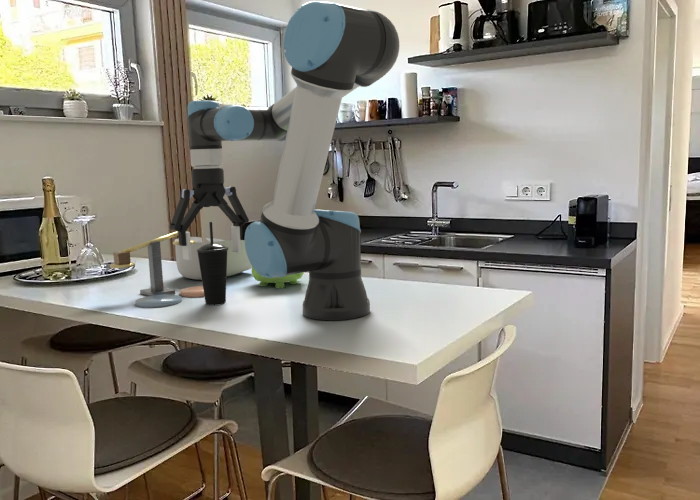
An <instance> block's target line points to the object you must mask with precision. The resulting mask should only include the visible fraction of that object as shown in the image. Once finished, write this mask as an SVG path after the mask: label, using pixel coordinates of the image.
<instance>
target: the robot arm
mask: <svg viewBox="0 0 700 500" xmlns="http://www.w3.org/2000/svg"><path fill="white" fill-rule="evenodd" d="M282 46H283V49H284V50H285V52H284V57H285V59H286V62H287V63H288V65H290V66H291V71H290V76H291V77H292V79H293V80H294V82H295V84H296V86H295V87H294V88H293V89H292V90H290V91H288V92H287V94H285V95H283V96H282V97H281V98H280V99H278V100H277V101H276V102H275V103H273V104H272V105H270V106H269V107H247V106H244V105H239V104H238V105H237V104H235V105H232V104H227V105H225V106H220V103H219V102H218V101H216V100H193V101H190V102H188V104H187V117H186V119H187V129H188V130H187V131H188V140H189V155H190V157H189V158H190V166H191V167H193V169H191V171H190V173H191V183H192V190H191V189H190V190H189V189H188V188H187V189H186V188H183V189H181V190H180V191H179V195H180V196H179V201H178V203H177V206H176V208H175V212H174V215H173V216H172V220H171V223H170V225H169V229H170V230H172V231H174V232H176V231H177V232H178V236H177V237H178V238H179V245H180V246H182V249H183V259H186V260H192V256H191V241H190V237H191V232H190V231H188V229H189V228H190V226H191V224H192V223H193V222H194V220H195V218H196V217H197V216H198V214H199V212H200V211H201V210H202V209H203V208H210V207H218V208H219V209H220V210H221V211H222V212H223V214H224V215H225V216H226V217H227V218H228V219H229V220H230V222H231V223H232V224H233V225H230V230H231V231H230V232H231V233H230V234H231V240H232V252H236V253H241V245H240V240H243V227H244V226H245V224H246V223H249V221H250V220H249V217H248V215H247V213H246V211H245V209H244V207H243V206H242V203H241V201H240V199H239V197H238V195H237V189H236V186H227V187H225V185H224V182H225V175H224V173H225V172H224V171H225V170H224V169H223V167H222V166H224V156H223V142H233V141H234V142H235V141H236V142H238V141H239V142H242V141H244V142H247V141H267V142H268V141H273V142H274V141H276V142H284V144H283V147H282V152H281V153H282V154H281V158H280V162H279V167H278V171H277V176H276V180H275V181H276V182H275V186H274V190H273V194H272V195H273V196H272V200H271V201H269V202H268V203H265V205H263V207H262V212H261V214H260V215H261V216H260V219H259V221H257V220H255V221H253V222H251V223H250V224H249V225H248V226H247V227H246V229H245V232H244V240H245V249H246V253H247V256H248V259H249V261H250V263H251V265H252V267H253V268H254V269H255V271H256V272H257V273H258V274H260V275H261V276H263V277H266V278H273V277H284V276H287V275H292V274H298V273H303V272H304V273H307V272H308V275H309V278H308V283H307V287H306V292H305V294H304V296H305V297H304V300H303V301H302V315H303V316H304V317H306V318H309V319H313V320H320V321H345V320H353V319H358V318H361V317H365V316H367V315H368V314H369V313H371V312H370V311H371V303H370V302H371V301H370V299H369V297H368V295H367V290H366V287H365V285H364V282H363V278H362V257H361V256H362V255H361V254H362V252H361V251H362V248H361V247H362V245H361V234H362V229H361V227H360V226H361V225H360V217H359V216H358V214H357V213H355V212H353V211H343V210H330V209H329V210H327V209H326V210H325V209H315V208H316V205H317V200H318V196H319V194H320V193H319V192H320V188H321V183H322V180H323V175H324V172H325V169H326V165H327V164H326V163H327V159H328V157H329V156H328V155H329V151H330V148H331V144H332V139H333V137H334V132H335V128H336V124H337V120H338V116H339V111H340V107H341V103H342V99H343V98H344V97H345V96H347V95H349V94H350V93H352V92H353V91H354V90H357V88H359V87H361V88H367V87H370V86H371V85H373V84H374V83H376V82H378V81H379V80H381V79H382V78H383V77H385V76H386V74H388V73H389V72H390V71H391V69H393V67H394V65H395V63H396V62H397V59H398V56H399V52H400V37H399V33H398V30H397V29H396V27H395V25H394V23H393V22H392V21H391V20H390V19H389V18H388V17H387V16H386V15H384V14H383V13H381V12H379V11H376V10H372V9H364V8H360V7H355V6H349V5H344V4H340V3H337V2H331V1H315V0H313V1H308V2H306V3H304V4H302V5H301V6H300V8H297V9H296V10H295V11H294V13H293V14H292V15H291V17H290V19H289V21H288V22H287V24H286V28H285V31H284V35H283V45H282ZM225 196H226V197H227V198H228V200H229V202H227V201H226V199H225V198H224V197H225ZM192 197H193V198H194V200H193V201H192V203H191V204H190V208H189V209H188V207H189V203H190V200H191V198H192ZM228 203H230V204H231V206H232V207H231V206H230V205H229V204H228ZM187 209H188V211H187ZM304 273H303V274H304Z"/></svg>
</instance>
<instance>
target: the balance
mask: <svg viewBox="0 0 700 500" xmlns="http://www.w3.org/2000/svg"><path fill="white" fill-rule="evenodd" d="M175 237H178V232H177V231H174V232H171V233H169V234H166V235H162V236H159V237H156V238H153V239H151V240H148V241H145V242H142V243H140V244H139V243H138V244H137V245H133V246H130V247H128V248H125V249H121V250H120V251H115V252H114V251H113V263H111V264H110V265H109V267H110V269H125V268H126V269H127V268H132V267H133V268H134V267H135V266H136V262H134V261H131V253H132V252H135V251H138V250H141V249H143V248H146V247H147V254H148V267H149V270H148V271H149V280H150V281H149V282H150V287H149V288H145V289H140V290H139V293H140V294H141V295H144V296H145V297H147V296H153V295H164V294H172V295H176V290H174V289H171V288H168V287H164V278H163V264H162V263H163V261H162V251H161V250H162V248H161V242H164V241H167V240H169V239H173V238H175ZM190 241H191V244H195V243H196V241H195V240H190ZM172 245H173V246H175V245H179V241H175V240H174V241H173V242H172Z"/></svg>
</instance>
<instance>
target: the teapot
mask: <svg viewBox="0 0 700 500" xmlns="http://www.w3.org/2000/svg"><path fill="white" fill-rule="evenodd" d="M304 273H305V272H303V273H298V274H292V275H287V276H284V277H273V278H266V277H263V276H261V275H260V274H258V273H257V272H256V271H255V269H254V268H253V267H252V268H251V275H252V277H253V278H254V279H255V281H258V282H259V284H258V286H259V287H266V286H268V285H269V283H270V284H271V283H272V284H275V289H276V288H277V289H283V287H284V288H285V283H288V282H289V284H290V285H297V284H299V281H298V280H300V279H301V278H302V277H303V275H304ZM296 283H297V284H296Z"/></svg>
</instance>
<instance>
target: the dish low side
mask: <svg viewBox="0 0 700 500" xmlns="http://www.w3.org/2000/svg"><path fill="white" fill-rule="evenodd" d="M182 297H183V296H181V295H180V294H164V295H153V296H143V297H141V298H137V299H136V300H135V305H136V306H135V307H140V308H145V309H146V308H148V309H149V308H163V307H169V306H174V305H177V304H179V303H181V302H182V301H183V300H182V299H183V298H182Z"/></svg>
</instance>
